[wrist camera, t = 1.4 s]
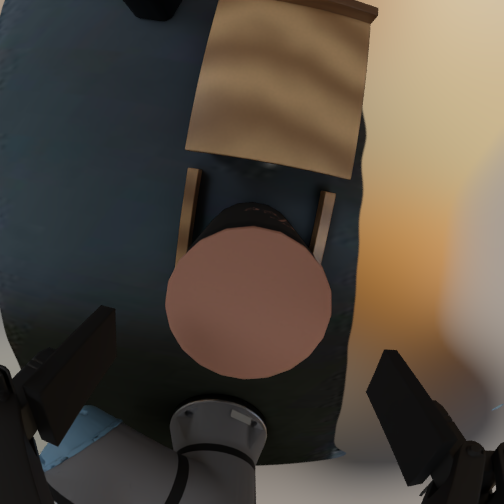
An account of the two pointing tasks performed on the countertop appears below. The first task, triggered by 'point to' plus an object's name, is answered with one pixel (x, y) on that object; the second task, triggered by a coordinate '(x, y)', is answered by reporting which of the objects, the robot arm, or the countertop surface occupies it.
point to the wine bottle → (153, 8)
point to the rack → (281, 93)
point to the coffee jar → (248, 295)
